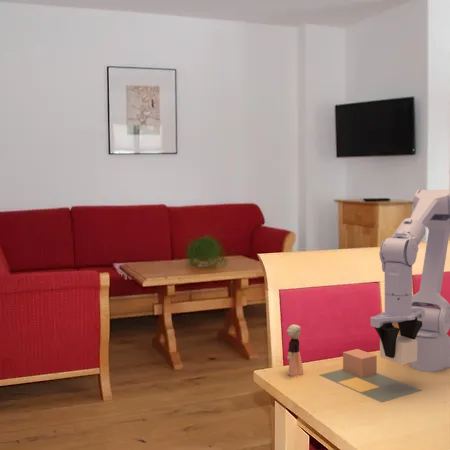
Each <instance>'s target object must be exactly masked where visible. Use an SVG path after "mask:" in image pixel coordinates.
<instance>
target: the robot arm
mask: <svg viewBox="0 0 450 450" xmlns="http://www.w3.org/2000/svg"><path fill="white" fill-rule="evenodd" d="M412 200H413V201H412V203H413V204H412V205H413V206H412V207H413V210H412V213H411V215H410V217H407V218H404V219H403V220H402V221H401V222H400V224H399V226H398V227H397V229H396V230H395V231H394V233H393V234H392V235H391V237H387V238H386V239H384V240H382V242H381V244H380V247H379V253H378V254H379V259H380V261H381V270H382V272H383V273H384V311H383V312H381V313H378V314H377V315H374V316H370V326H371V327H373V328H374V329H375V331H376V332H377V335H378V337H379V340H380V339H381V342H382V345H383V348H384V352H385V356H387V357H390V358H394V356H395V350H396V339H397V335H401V336H404V337H407V338H411V339H414V340H417V361H415V362H411V363H410V367H411V368H412V369H414V370H416V371H419V372H426V373H434V372H439V371H441V370H444V369H446V368H449V369H450V336H449V335H448V332H449V330H450V303H449V302H448V300H447V299H445V298H444V297H443V296H442V295H441V291H442V286H443V278H444V271H445V266H446V258H447V251H448V244H449V238H450V189H421V188H420V189H417V190H416V191H415V193H414V195H413V199H412ZM426 228H427V229H428V234H427V241H426V248H425V253H424V259H423V266H422V271H421V272H422V273H421V279H420V285H419V291H418V292H416V293H415V294H413V265H414V264H415V263H416V260H417V256H418V252H419V245H420V244H421V242H422V239H423V238H424V237H425V235H426ZM396 323H397V325H398V327H395V325H394V324H396Z"/></svg>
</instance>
